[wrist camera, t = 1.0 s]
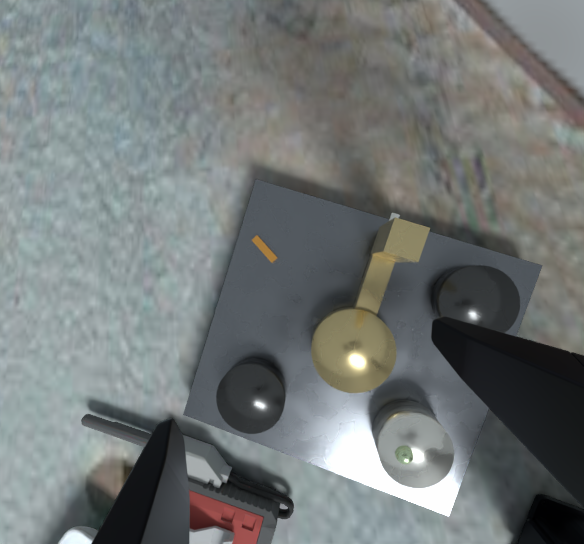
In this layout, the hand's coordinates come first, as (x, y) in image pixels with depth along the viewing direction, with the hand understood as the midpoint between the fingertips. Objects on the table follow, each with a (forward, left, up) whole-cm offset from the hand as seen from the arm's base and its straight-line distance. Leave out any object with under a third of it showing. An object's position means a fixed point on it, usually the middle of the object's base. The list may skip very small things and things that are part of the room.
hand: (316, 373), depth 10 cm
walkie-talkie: (+7, +19, -16) cm, 26 cm away
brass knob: (-3, -1, -13) cm, 14 cm away
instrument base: (-3, +2, -15) cm, 16 cm away
